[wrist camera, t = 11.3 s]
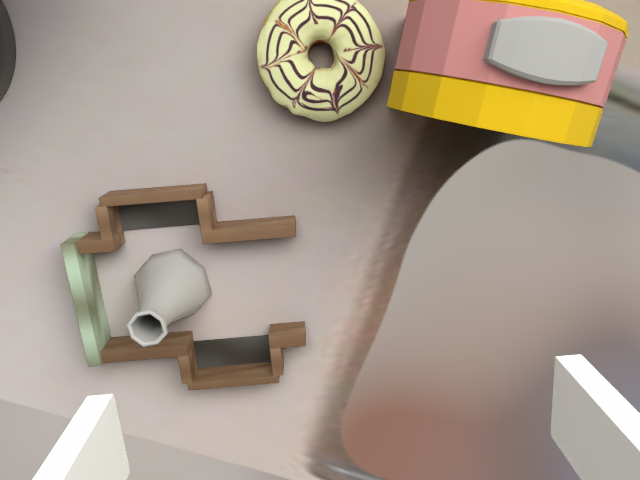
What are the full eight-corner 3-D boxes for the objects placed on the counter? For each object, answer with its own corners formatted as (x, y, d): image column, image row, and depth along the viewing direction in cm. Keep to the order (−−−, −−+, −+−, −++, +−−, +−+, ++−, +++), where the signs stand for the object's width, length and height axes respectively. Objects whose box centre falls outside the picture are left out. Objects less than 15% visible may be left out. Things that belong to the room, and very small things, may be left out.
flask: (164, 329, 55) (135, 382, 46) (122, 271, 53) (83, 315, 44) (224, 295, 55) (208, 343, 45) (184, 236, 53) (158, 272, 43)
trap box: (67, 194, 51) (51, 203, 48) (291, 176, 51) (290, 183, 48) (108, 381, 57) (96, 400, 53) (308, 364, 57) (308, 382, 54)
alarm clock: (553, 36, 48) (697, 16, 31) (526, 129, 51) (645, 160, 33) (389, 3, 47) (442, -38, 29) (369, 99, 49) (408, 114, 32)
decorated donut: (336, 140, 50) (339, 145, 47) (237, 73, 48) (231, 73, 45) (402, 40, 48) (410, 38, 44) (300, -35, 46) (300, -43, 42)
